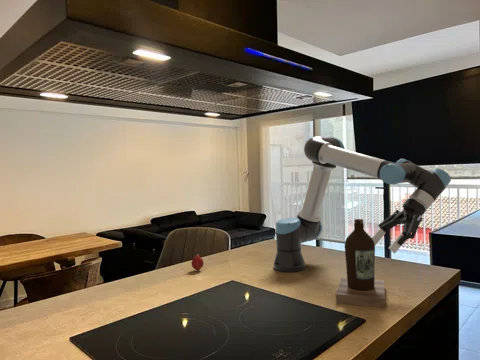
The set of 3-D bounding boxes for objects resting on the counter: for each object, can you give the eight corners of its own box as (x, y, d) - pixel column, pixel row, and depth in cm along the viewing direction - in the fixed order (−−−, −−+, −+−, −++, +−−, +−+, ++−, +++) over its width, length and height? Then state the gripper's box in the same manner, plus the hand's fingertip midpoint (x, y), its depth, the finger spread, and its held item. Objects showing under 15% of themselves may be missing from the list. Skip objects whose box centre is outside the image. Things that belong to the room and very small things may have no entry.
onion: (192, 272, 167) (191, 256, 166) (191, 269, 172) (190, 253, 172) (204, 271, 168) (203, 255, 167) (203, 268, 173) (202, 252, 173)
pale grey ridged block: (341, 284, 141) (341, 277, 141) (384, 287, 135) (383, 280, 135) (336, 302, 123) (335, 294, 123) (385, 307, 117) (385, 298, 117)
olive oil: (341, 283, 134) (339, 218, 133) (367, 281, 135) (365, 216, 134) (353, 292, 123) (351, 222, 123) (381, 290, 125) (379, 220, 124)
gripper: (448, 214, 119) (408, 261, 117) (404, 207, 144) (371, 246, 142) (433, 199, 118) (393, 247, 117) (392, 195, 143) (358, 234, 141)
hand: (381, 246), depth 129 cm, fingers open, 13 cm apart
